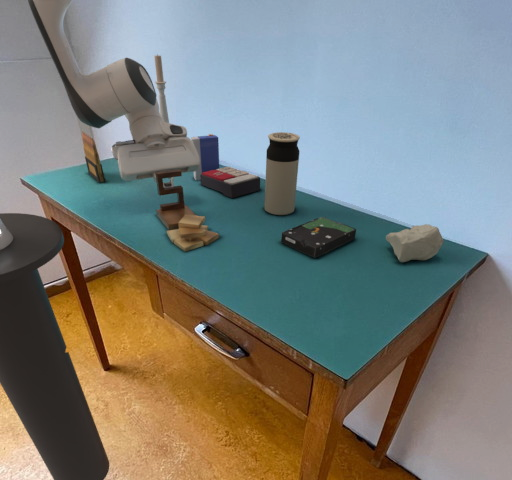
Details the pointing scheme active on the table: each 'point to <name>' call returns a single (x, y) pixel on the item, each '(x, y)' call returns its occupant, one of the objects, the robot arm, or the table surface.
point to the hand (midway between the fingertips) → (168, 190)
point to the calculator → (230, 181)
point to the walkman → (206, 153)
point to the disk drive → (318, 236)
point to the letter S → (171, 211)
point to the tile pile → (191, 233)
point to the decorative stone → (416, 242)
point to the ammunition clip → (92, 158)
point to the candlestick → (161, 88)
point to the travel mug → (281, 173)
